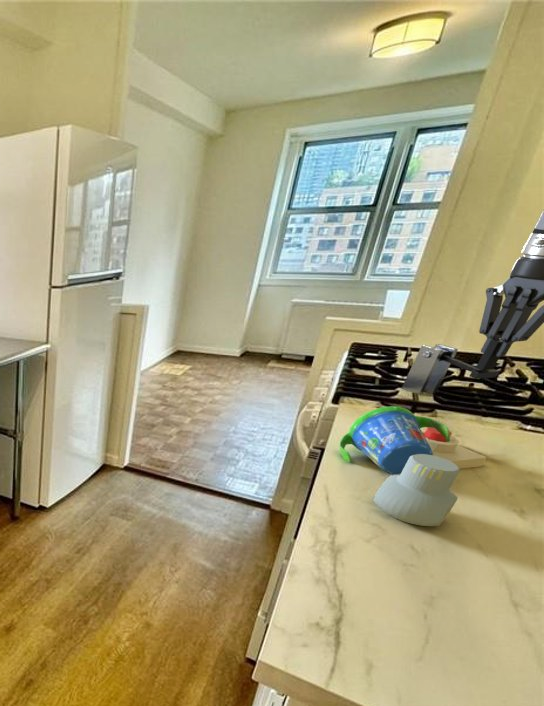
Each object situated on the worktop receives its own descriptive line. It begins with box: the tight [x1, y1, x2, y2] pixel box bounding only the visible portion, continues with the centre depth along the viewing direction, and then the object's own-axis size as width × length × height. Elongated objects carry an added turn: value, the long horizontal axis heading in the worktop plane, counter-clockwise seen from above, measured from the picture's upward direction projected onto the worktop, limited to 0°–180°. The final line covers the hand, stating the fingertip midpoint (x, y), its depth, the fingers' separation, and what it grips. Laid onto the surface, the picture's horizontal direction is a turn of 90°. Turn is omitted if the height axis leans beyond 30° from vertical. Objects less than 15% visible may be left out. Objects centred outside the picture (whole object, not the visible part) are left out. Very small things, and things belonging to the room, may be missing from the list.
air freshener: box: [373, 454, 461, 527], centre depth 77 cm, size 11×8×10 cm
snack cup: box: [339, 406, 450, 475], centre depth 91 cm, size 16×10×10 cm
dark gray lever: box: [433, 346, 500, 380], centre depth 113 cm, size 13×6×2 cm, turn 9°
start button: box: [424, 427, 453, 442], centre depth 95 cm, size 4×4×2 cm
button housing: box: [421, 429, 487, 470], centre depth 96 cm, size 12×10×4 cm
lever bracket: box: [401, 343, 459, 396], centre depth 120 cm, size 12×9×13 cm
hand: (484, 368), depth 109 cm, fingers closed
